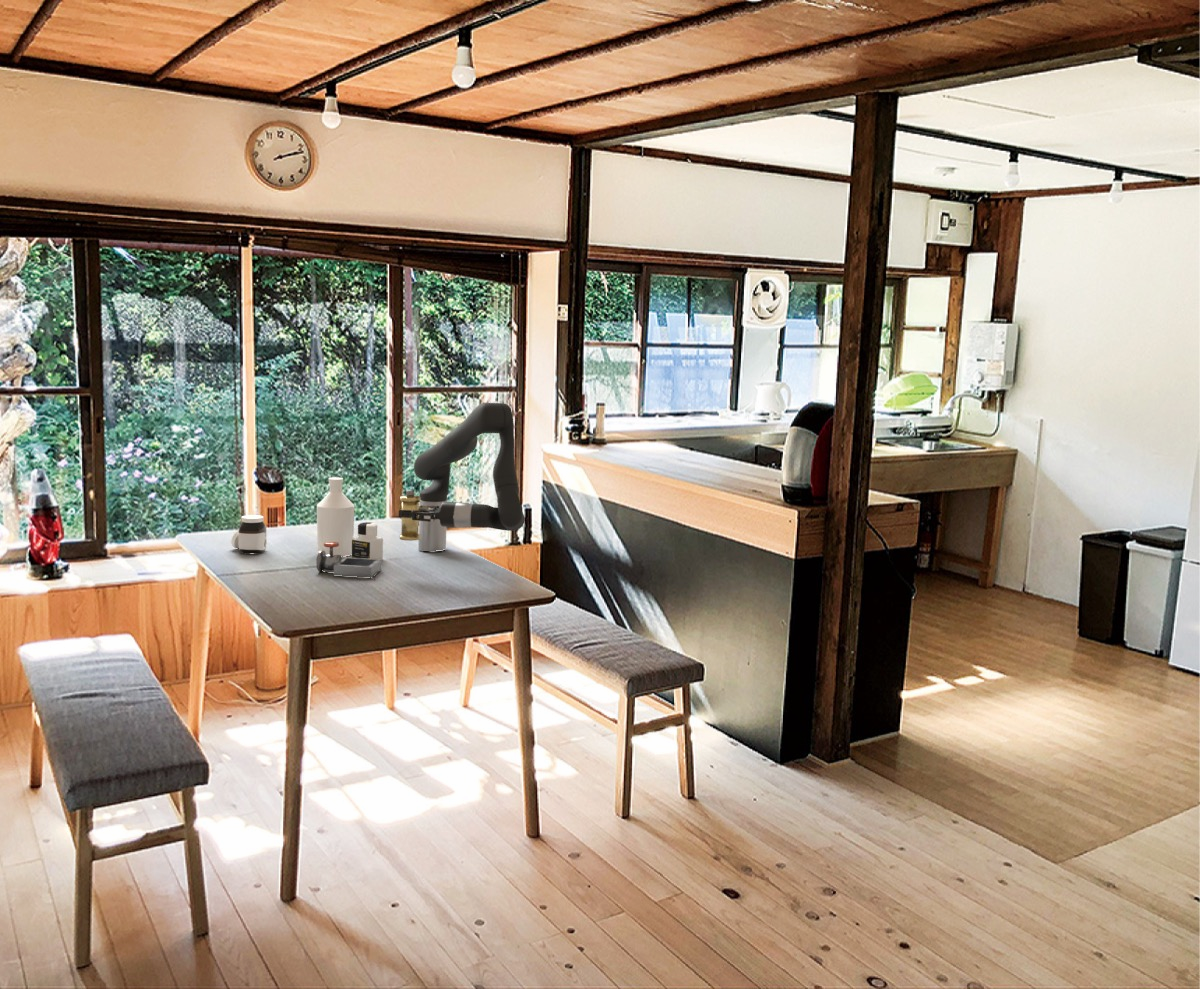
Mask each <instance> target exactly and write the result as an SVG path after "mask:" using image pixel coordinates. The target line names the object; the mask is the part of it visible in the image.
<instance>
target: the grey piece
mask: <svg viewBox="0 0 1200 989" xmlns="http://www.w3.org/2000/svg"><path fill="white" fill-rule="evenodd" d="M324 546H325V547H330V554H326V552H325V551H321V550H320V551H319V553H318V554H317V555H316V556H317V557H316V570H317V571H318V572H319V571H322V570H323V571H325V572H334V573H333V576H334V575H342V576H357V577H370V578H371V577H373V576H374V575H375V574H376V573H378V572H379V571H380V570H381V571H382V560H381V559H368V558H352V557H351V556H348V557H341V555H334V554H333V547H338V546H339V543H338V542H325V543H324ZM381 571H380V572H381ZM380 572H379V573H380ZM379 573H378V574H379ZM376 575H377V574H376ZM376 575H375V576H376ZM375 576H374V577H375ZM374 577H373V578H374Z"/></svg>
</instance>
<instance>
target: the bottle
mask: <svg viewBox="0 0 1200 989" xmlns="http://www.w3.org/2000/svg"><path fill="white" fill-rule="evenodd" d="M328 483H329V492H328V493H327V494H326V495H325V497H323V499H322V500H321V501H319V502H318V503H317V504H316V534H317V535H316V537H317V538H316V540H317V543H316V544H317V546H316V548H317V550H316V551H317V553H319V551H320V550H321V551H325V552H326V554H330V547H325V546H324V543H325V542H338V543H339V546H338V547H333V554H334V555H341V556H345V555H351V554H352V539H353V538H355V536H354V532H355V504H354V503H353V502H352V501H351V500H349V498H348V496H346V495H345V494H344V492H343V483H344V478H343V477H335V476H333V477H328ZM351 556H352V555H351Z"/></svg>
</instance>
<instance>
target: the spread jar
mask: <svg viewBox="0 0 1200 989" xmlns="http://www.w3.org/2000/svg"><path fill="white" fill-rule="evenodd" d="M240 519H241V523H240V526H239V528H238V530H237V531H236V532H235V533H234V534H233V536H231V540H230V541H231V542H230V543H231V546H232V547H233V548H235V549H236V548H239V549H238V550H239V552H241V553H242V552H243V553H242V554H244V553H260V554H263V553H265V551H266V550H267V540H268V538H267V537H268V534H267V533H268V532H267V526H266V524H265V522H264V519H265V518H264V516H263V515H258V514H247V515H243V516H241V518H240ZM262 552H263V553H262Z"/></svg>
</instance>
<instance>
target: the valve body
mask: <svg viewBox="0 0 1200 989" xmlns="http://www.w3.org/2000/svg"><path fill="white" fill-rule="evenodd" d="M405 493H406V494H405V495H401V496H400V497H399V499H400V500H399V501H400V502H401V510H419V502H420V496H419V495H415V490H414V489H406V492H405ZM418 516H419V514H416V517H418ZM400 533H401V534H399V539H400V540H401V541H406V542H407V541H409V542H411V541H419V539H420V535H419V521H418V520H412V519H411V518H401V532H400Z"/></svg>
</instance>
